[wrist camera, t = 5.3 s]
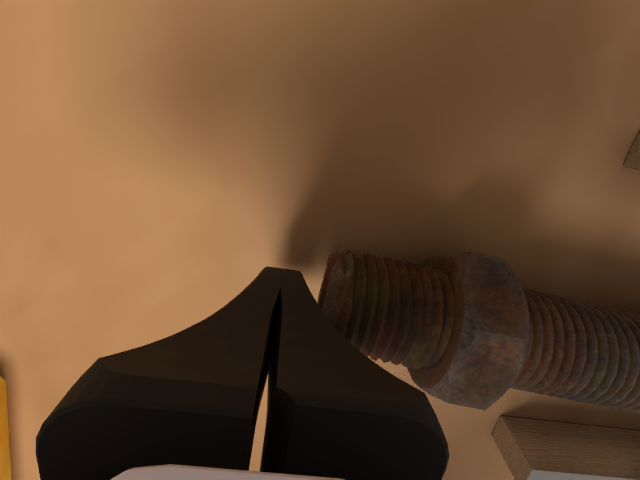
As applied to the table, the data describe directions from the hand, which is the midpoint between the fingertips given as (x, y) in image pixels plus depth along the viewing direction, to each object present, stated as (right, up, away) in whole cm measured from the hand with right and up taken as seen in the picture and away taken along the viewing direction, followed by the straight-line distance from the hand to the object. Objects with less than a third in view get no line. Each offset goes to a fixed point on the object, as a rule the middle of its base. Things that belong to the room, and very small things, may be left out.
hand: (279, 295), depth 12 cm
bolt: (+9, -1, +2) cm, 9 cm away
